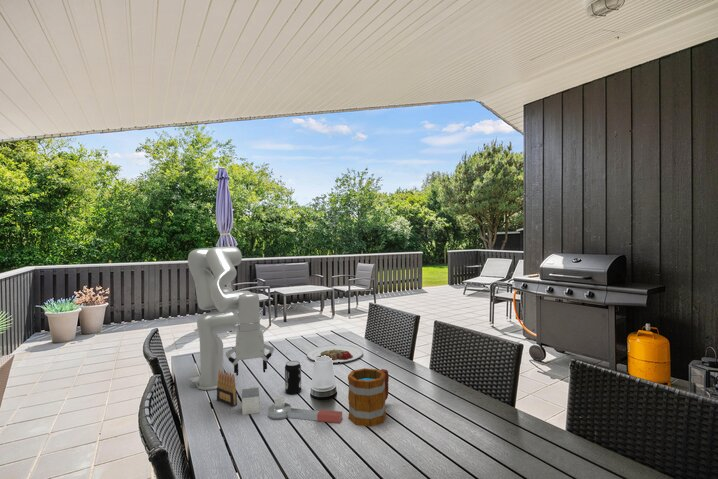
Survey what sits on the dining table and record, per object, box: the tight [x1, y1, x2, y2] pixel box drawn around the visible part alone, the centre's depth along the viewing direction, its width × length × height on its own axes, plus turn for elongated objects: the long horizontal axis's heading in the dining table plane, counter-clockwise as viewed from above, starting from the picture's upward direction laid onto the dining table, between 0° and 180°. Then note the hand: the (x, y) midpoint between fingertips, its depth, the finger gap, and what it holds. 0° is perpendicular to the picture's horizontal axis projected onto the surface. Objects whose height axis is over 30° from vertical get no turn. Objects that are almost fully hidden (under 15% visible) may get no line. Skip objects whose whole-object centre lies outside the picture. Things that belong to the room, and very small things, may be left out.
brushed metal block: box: [241, 387, 260, 416], centre depth 141 cm, size 6×6×7 cm
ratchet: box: [267, 396, 343, 424], centre depth 135 cm, size 27×8×6 cm, turn 76°
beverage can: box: [284, 360, 302, 395], centre depth 157 cm, size 7×7×12 cm
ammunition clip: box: [216, 370, 238, 407], centre depth 148 cm, size 11×2×12 cm, turn 54°
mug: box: [347, 368, 390, 428], centre depth 136 cm, size 20×14×15 cm
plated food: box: [306, 344, 364, 364], centre depth 204 cm, size 30×30×3 cm
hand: (250, 372), depth 140 cm, fingers open, 9 cm apart
